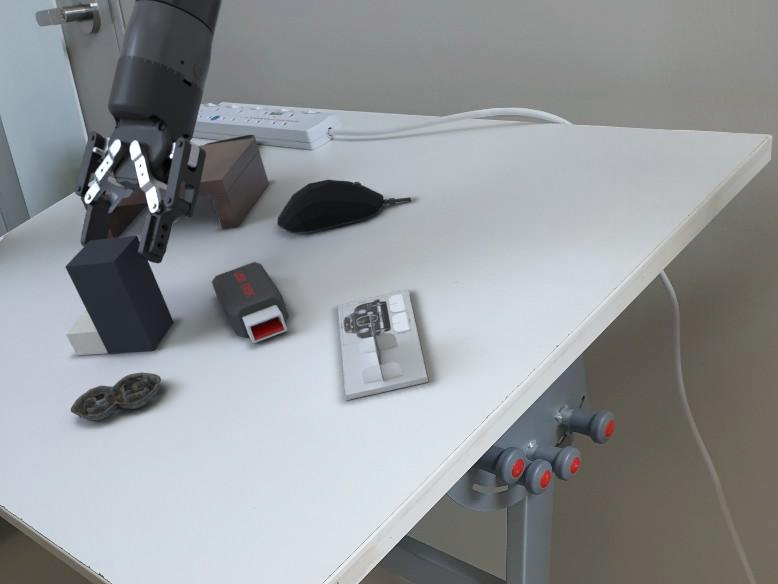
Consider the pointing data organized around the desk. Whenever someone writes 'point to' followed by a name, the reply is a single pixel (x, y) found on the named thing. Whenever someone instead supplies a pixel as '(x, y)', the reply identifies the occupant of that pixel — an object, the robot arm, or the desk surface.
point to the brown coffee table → (210, 185)
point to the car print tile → (380, 345)
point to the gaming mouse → (330, 206)
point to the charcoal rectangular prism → (116, 299)
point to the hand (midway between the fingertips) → (119, 254)
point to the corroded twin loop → (117, 396)
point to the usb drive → (251, 302)
